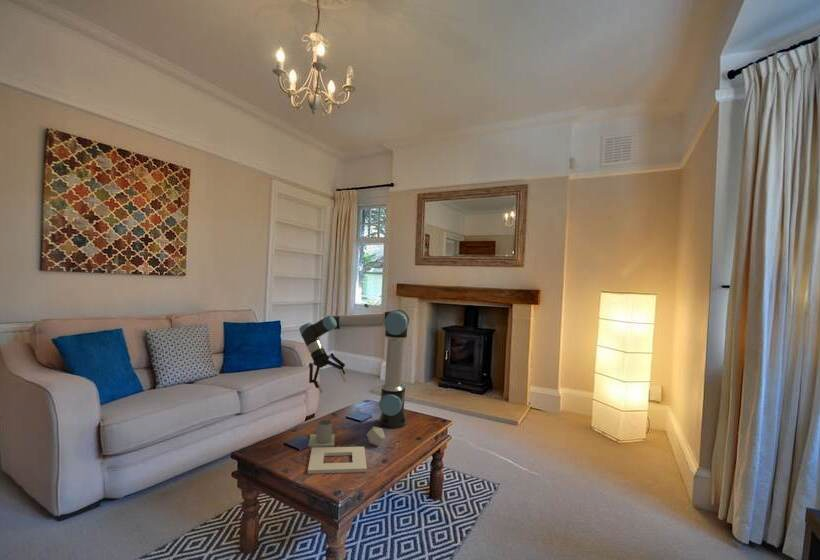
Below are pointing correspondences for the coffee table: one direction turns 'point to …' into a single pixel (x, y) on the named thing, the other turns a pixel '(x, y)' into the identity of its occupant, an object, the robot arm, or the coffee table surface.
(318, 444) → the coaster
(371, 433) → the die
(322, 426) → the cup
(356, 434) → the coffee table surface
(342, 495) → the coffee table surface
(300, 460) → the coffee table surface
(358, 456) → the beige flat frame
